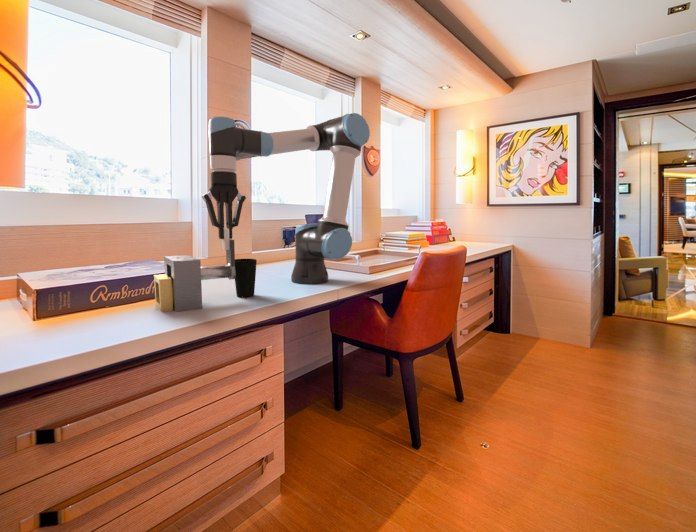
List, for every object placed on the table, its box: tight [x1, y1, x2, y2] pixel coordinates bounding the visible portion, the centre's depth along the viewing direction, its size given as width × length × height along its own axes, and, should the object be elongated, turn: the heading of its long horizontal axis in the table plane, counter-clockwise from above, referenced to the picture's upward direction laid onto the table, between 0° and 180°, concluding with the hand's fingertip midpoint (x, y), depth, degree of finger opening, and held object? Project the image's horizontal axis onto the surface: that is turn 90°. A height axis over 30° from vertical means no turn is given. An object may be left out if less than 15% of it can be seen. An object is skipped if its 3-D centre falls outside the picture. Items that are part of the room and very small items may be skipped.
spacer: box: [153, 273, 174, 313], centre depth 107 cm, size 3×9×9 cm, turn 36°
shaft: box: [201, 238, 236, 281], centre depth 113 cm, size 16×5×13 cm, turn 125°
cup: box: [234, 258, 258, 299], centre depth 123 cm, size 8×8×12 cm
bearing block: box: [163, 254, 203, 313], centre depth 110 cm, size 7×14×14 cm, turn 35°
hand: (225, 249), depth 116 cm, fingers closed
